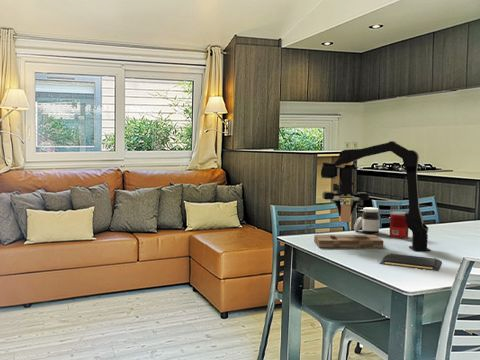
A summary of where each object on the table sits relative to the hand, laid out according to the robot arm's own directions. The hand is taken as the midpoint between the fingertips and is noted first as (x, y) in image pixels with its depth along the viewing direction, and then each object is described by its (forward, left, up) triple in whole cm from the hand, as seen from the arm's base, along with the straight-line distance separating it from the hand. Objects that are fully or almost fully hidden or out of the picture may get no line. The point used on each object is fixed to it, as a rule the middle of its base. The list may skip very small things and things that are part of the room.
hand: (344, 215), depth 201 cm
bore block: (-5, 0, -11) cm, 12 cm away
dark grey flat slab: (-33, -16, -12) cm, 38 cm away
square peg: (0, 0, -2) cm, 2 cm away
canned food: (+11, -27, -12) cm, 32 cm away
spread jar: (+21, -15, -12) cm, 29 cm away
